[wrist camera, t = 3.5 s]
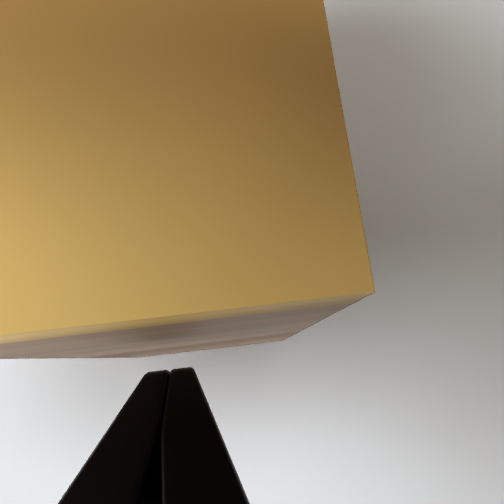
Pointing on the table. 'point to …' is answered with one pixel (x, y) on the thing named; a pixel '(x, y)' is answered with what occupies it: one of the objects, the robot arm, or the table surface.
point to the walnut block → (171, 177)
